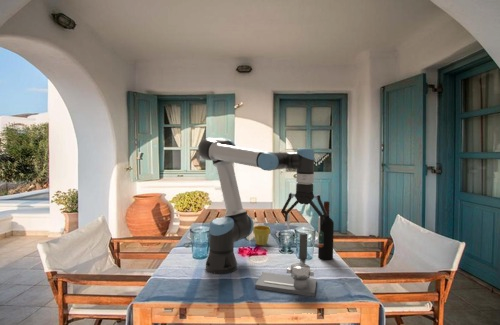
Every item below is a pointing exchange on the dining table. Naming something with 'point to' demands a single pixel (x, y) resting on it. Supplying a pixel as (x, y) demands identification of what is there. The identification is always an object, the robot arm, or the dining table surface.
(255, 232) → the plant pot
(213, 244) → the robot arm
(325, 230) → the wine bottle
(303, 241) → the grey lever handle
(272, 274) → the base plate
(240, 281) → the dining table surface
